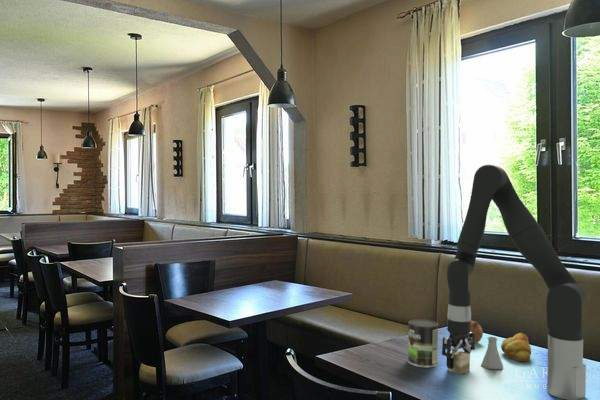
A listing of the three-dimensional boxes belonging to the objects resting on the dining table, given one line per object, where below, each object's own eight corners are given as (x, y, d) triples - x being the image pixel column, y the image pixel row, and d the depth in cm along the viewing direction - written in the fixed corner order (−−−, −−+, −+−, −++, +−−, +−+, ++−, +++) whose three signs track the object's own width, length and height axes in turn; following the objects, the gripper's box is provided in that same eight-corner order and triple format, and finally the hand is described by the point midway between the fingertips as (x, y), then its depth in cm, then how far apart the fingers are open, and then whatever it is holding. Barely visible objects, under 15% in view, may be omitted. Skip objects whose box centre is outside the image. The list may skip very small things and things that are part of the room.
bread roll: (535, 364, 171) (536, 341, 171) (506, 362, 173) (506, 340, 173) (526, 352, 184) (526, 331, 184) (498, 351, 186) (498, 330, 185)
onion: (478, 352, 192) (486, 333, 188) (454, 344, 195) (462, 324, 190) (478, 337, 201) (486, 318, 196) (455, 329, 203) (462, 311, 198)
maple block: (469, 371, 164) (469, 353, 164) (460, 374, 161) (460, 356, 161) (457, 367, 168) (457, 349, 168) (447, 370, 165) (447, 352, 165)
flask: (505, 371, 164) (505, 341, 164) (482, 369, 166) (483, 340, 166) (501, 363, 171) (501, 335, 171) (479, 362, 173) (479, 334, 173)
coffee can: (420, 369, 165) (420, 328, 165) (401, 360, 174) (402, 320, 174) (444, 365, 169) (444, 324, 169) (424, 356, 179) (425, 317, 179)
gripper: (455, 323, 157) (454, 373, 157) (481, 317, 165) (480, 364, 166) (436, 318, 163) (435, 366, 163) (462, 312, 171) (462, 358, 172)
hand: (458, 365), depth 164 cm, fingers open, 8 cm apart
